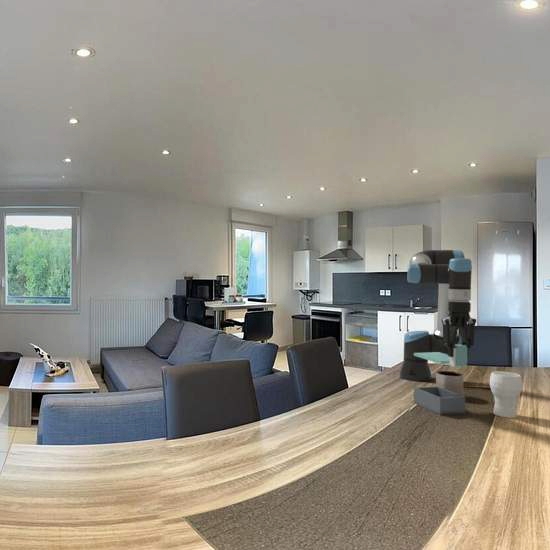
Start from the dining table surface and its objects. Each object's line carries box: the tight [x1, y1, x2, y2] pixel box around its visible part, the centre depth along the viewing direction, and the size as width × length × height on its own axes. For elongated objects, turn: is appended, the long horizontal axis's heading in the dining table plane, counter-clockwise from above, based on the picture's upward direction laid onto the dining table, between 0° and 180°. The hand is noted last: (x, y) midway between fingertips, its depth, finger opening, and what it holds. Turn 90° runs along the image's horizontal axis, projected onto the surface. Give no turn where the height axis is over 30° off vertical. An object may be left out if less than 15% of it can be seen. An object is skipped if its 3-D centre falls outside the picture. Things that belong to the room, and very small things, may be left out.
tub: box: [413, 385, 466, 416], centre depth 170 cm, size 16×11×6 cm
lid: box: [414, 344, 468, 367], centre depth 168 cm, size 21×12×7 cm, turn 17°
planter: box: [435, 370, 464, 396], centre depth 188 cm, size 11×11×10 cm
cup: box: [489, 370, 523, 419], centre depth 163 cm, size 11×11×15 cm
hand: (457, 365), depth 160 cm, fingers closed on lid, 4 cm apart
